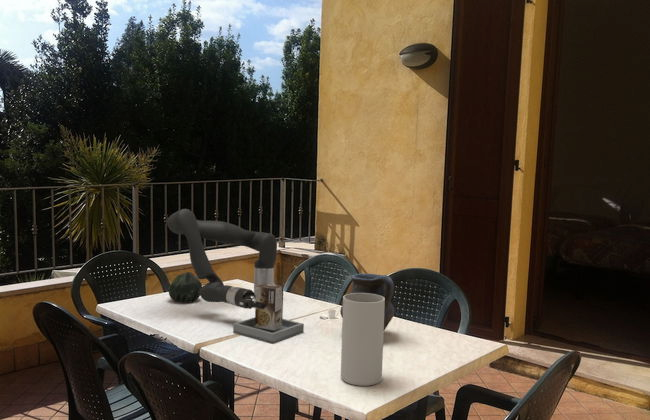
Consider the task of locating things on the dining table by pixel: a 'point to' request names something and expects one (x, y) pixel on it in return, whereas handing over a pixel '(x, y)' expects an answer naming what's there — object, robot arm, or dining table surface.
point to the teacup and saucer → (330, 315)
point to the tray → (266, 335)
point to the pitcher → (375, 291)
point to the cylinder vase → (362, 338)
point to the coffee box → (269, 306)
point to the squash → (185, 288)
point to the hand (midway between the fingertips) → (271, 304)
